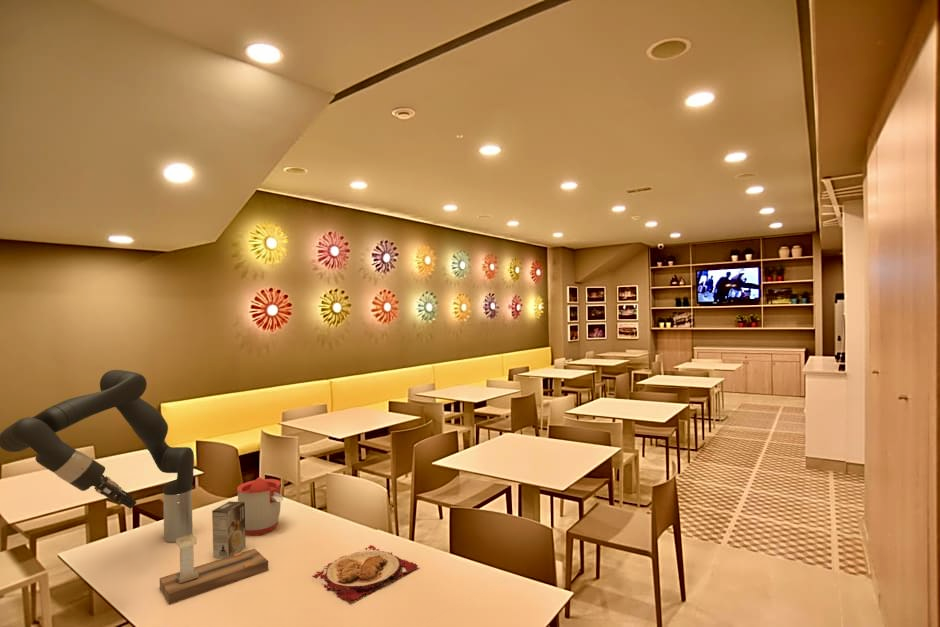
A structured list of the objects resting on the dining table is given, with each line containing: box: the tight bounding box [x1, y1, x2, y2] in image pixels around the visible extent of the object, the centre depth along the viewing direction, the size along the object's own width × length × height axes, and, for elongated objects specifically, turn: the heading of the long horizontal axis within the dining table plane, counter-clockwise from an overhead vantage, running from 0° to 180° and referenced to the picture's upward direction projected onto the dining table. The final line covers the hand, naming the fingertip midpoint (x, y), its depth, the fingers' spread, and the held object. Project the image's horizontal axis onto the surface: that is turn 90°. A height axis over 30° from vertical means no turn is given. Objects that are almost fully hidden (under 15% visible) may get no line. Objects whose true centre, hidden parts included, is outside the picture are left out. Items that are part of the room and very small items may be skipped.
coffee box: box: [211, 500, 247, 559], centre depth 176 cm, size 9×6×16 cm
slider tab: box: [175, 533, 198, 583], centre depth 153 cm, size 5×5×12 cm
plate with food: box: [311, 545, 419, 602], centre depth 161 cm, size 25×26×4 cm
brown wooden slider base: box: [159, 548, 269, 605], centre depth 158 cm, size 12×28×3 cm, turn 132°
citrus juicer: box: [236, 477, 284, 536], centre depth 194 cm, size 16×17×20 cm
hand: (131, 502), depth 147 cm, fingers open, 5 cm apart
